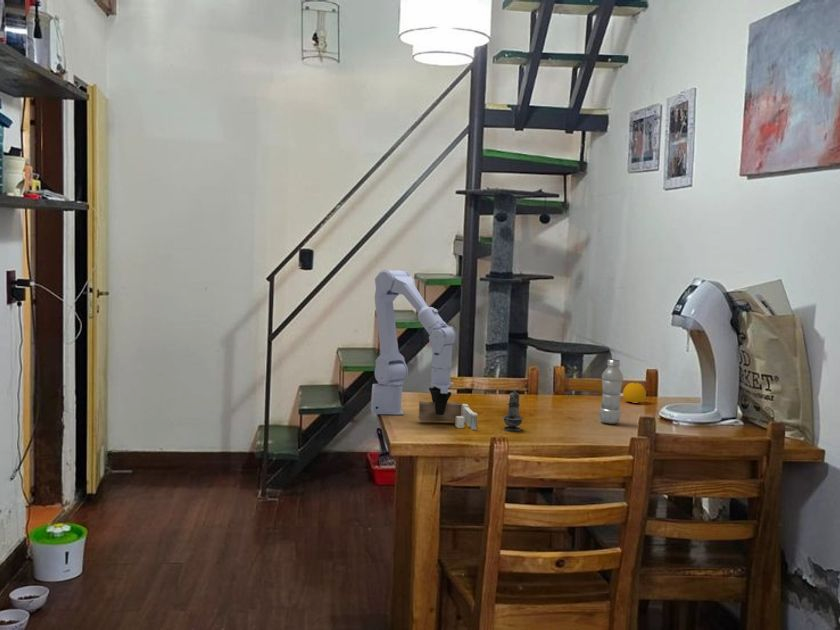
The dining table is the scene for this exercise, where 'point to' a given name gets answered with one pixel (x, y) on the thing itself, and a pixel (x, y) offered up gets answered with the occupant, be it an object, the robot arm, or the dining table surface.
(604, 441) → the dining table surface
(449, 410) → the block
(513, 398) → the dark grey tall piece
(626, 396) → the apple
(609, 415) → the plastic bottle
